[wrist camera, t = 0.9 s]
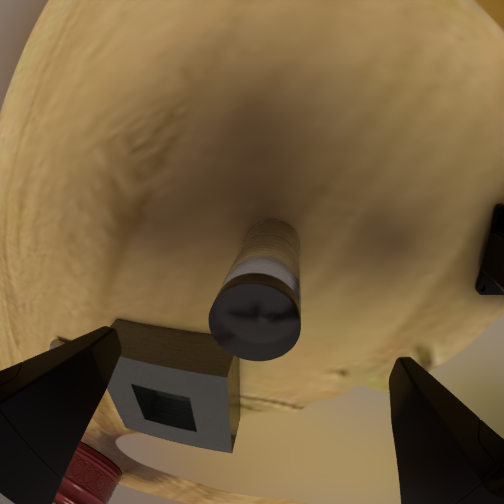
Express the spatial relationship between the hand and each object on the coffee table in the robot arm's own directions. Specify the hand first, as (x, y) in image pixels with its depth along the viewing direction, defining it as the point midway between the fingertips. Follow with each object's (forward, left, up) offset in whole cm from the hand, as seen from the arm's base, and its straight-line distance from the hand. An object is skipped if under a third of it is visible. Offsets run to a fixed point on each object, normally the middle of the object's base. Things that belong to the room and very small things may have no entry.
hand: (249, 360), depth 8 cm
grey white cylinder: (0, 0, -10) cm, 10 cm away
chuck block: (+12, +12, -10) cm, 19 cm away
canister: (+30, +43, -10) cm, 53 cm away
